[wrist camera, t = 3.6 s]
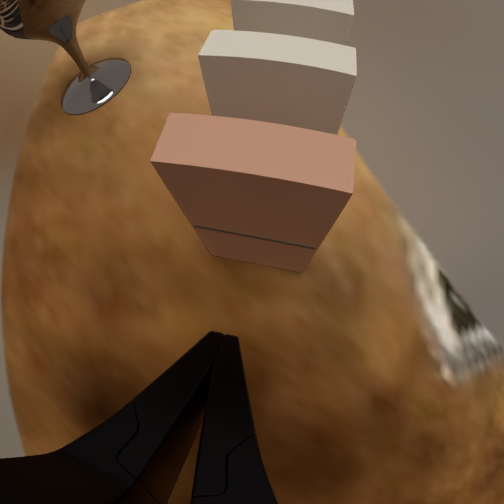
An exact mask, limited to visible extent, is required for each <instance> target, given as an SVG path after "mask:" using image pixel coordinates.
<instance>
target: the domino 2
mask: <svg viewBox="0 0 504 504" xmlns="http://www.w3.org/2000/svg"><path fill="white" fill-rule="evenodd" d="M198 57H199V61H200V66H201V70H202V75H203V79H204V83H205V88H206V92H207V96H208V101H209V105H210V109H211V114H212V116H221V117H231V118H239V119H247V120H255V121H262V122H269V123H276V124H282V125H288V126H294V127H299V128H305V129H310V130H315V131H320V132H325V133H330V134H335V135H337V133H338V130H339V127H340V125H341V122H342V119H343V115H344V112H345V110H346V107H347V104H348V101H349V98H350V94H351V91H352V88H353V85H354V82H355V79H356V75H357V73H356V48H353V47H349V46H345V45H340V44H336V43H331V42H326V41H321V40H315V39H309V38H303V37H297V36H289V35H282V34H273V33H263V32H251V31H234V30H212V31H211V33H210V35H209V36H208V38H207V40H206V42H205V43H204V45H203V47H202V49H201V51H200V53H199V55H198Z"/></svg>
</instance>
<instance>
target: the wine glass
mask: <svg viewBox="0 0 504 504" xmlns="http://www.w3.org/2000/svg"><path fill="white" fill-rule="evenodd" d="M84 3H85V0H0V29H1V30H3V31H4V32H5V33H7V34H8V35H11V36H13V37H14V38H19V39H30V40H31V39H32V40H44V41H49V42H53V43H56V44H58V45H60V46H61V47H62V48H64V49H65V51H66V52H67V53H68V54H69V55H70V56H71V57H72V59H73V60H74V61H75V62H76V64H77V65H78V67H79V68H80V70H81V72H80V73H79V74H78V75H76V76H75V77H74V78H73V79H72V81H71V82H70V83H69V84H68V86H67V87H66V89H65V91H64V93H63V95H62V99H61V106H62V109H63V111H65V112H66V113H68V114H71V115H80V114H84V113H87V112H90V111H92V110H94V109H96V108H98V107H100V106H102V105H103V104H105V103H106V102H108V101H109V100H110V99H112V98H113V97H114V96H115V95H116V94H117V93H118V92H119V91H120V90H121V89H122V88H123V87H124V85H125V84H126V82H127V81H128V79H129V76H130V73H131V66H130V64H129V62H127V61H126V60H124V59H122V58H108V59H104V60H101V61H98V62H96V63H94V64H92V65H90V66H89V65H88V64H87V62H86V60H85V58H84V56H83V54H82V52H81V49H80V47H79V44H78V41H77V37H76V26H77V21H78V18H79V15H80V13H81V10H82V7H83V5H84Z"/></svg>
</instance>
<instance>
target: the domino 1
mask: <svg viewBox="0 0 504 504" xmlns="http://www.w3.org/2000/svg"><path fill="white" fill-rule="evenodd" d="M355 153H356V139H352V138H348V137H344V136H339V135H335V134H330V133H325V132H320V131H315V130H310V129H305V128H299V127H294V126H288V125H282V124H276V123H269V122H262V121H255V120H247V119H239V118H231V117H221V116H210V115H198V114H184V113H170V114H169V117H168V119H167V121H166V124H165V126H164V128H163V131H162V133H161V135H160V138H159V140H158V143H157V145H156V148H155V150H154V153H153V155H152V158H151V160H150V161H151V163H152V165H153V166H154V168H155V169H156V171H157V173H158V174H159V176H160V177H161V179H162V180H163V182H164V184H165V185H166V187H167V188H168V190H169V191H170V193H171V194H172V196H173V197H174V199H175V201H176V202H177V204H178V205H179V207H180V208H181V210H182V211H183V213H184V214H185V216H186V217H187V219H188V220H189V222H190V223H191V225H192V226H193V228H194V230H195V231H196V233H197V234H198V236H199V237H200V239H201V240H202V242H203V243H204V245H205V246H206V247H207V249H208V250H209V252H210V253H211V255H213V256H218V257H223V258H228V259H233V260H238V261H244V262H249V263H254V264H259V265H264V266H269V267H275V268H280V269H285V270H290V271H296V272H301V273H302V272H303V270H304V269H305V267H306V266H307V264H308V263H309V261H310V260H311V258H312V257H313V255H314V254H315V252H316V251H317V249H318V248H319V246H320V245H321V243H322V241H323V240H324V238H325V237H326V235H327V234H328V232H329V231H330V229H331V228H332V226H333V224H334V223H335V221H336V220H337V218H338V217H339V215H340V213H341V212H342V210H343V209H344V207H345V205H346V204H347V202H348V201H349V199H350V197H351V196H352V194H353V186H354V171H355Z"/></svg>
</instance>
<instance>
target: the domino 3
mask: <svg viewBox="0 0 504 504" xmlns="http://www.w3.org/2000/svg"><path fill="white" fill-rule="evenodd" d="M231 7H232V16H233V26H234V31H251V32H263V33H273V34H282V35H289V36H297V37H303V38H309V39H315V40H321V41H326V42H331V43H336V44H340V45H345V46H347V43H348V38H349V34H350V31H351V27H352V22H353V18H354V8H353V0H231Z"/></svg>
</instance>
